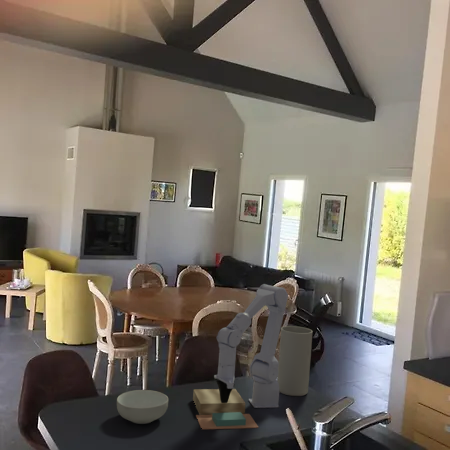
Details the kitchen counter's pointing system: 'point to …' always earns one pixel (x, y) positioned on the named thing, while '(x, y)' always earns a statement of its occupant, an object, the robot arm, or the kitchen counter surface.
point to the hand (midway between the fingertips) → (224, 402)
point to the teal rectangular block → (228, 419)
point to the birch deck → (217, 402)
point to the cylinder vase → (294, 360)
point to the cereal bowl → (142, 405)
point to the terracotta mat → (208, 423)
